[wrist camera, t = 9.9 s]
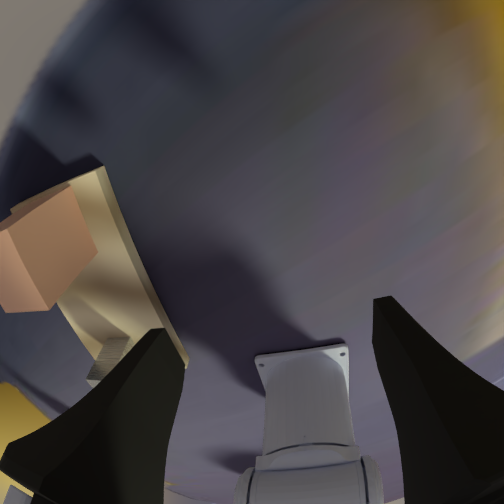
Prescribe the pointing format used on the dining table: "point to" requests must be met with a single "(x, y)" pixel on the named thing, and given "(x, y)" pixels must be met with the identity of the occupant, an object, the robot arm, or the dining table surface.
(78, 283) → the birch board
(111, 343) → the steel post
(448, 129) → the dining table surface
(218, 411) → the dining table surface
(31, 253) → the tan cardboard box
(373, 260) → the dining table surface
